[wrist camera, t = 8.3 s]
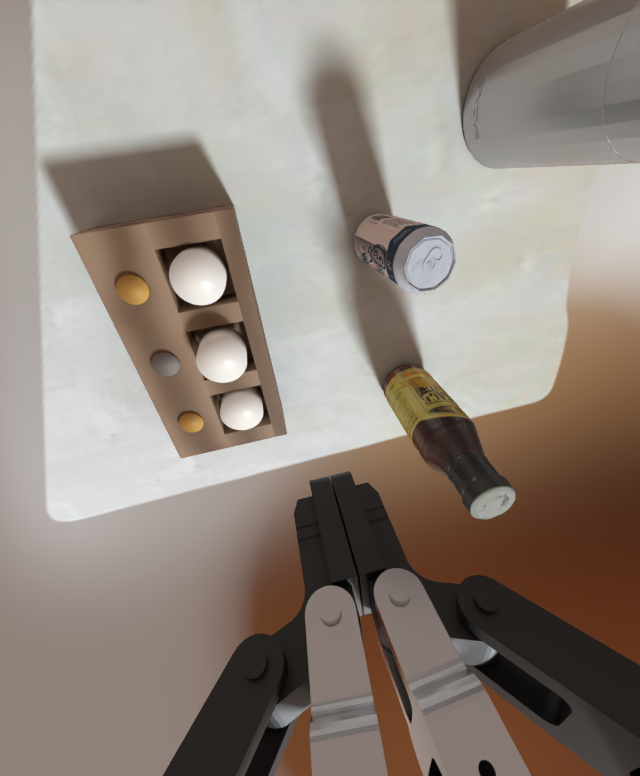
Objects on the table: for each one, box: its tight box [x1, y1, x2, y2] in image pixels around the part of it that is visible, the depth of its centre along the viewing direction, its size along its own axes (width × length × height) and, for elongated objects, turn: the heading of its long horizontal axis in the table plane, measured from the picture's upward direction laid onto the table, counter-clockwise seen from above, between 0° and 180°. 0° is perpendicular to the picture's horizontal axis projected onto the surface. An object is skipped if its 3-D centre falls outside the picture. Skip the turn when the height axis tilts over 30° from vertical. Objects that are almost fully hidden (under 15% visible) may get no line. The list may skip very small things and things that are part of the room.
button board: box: [70, 205, 287, 458], centre depth 34 cm, size 12×23×5 cm, turn 7°
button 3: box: [220, 386, 263, 430], centre depth 36 cm, size 4×4×3 cm
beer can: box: [354, 213, 456, 294], centre depth 29 cm, size 5×5×12 cm
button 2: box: [196, 326, 247, 383], centre depth 31 cm, size 4×4×3 cm
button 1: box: [169, 244, 227, 305], centre depth 29 cm, size 4×4×3 cm
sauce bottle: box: [384, 365, 515, 519], centre depth 36 cm, size 7×6×20 cm
